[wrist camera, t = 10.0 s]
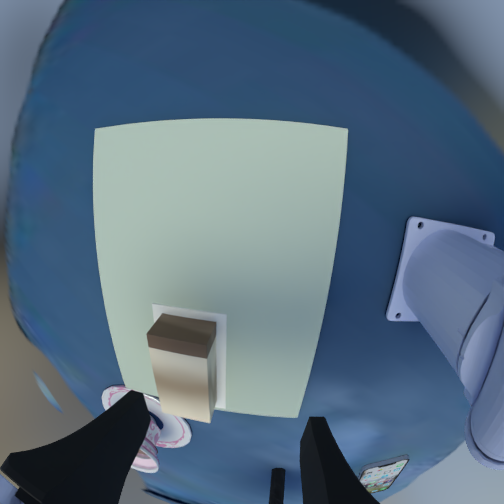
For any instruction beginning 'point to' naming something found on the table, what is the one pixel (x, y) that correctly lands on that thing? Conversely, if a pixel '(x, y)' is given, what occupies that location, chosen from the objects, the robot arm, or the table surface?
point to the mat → (221, 246)
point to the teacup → (152, 429)
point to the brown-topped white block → (184, 365)
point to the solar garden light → (277, 486)
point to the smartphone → (382, 473)
